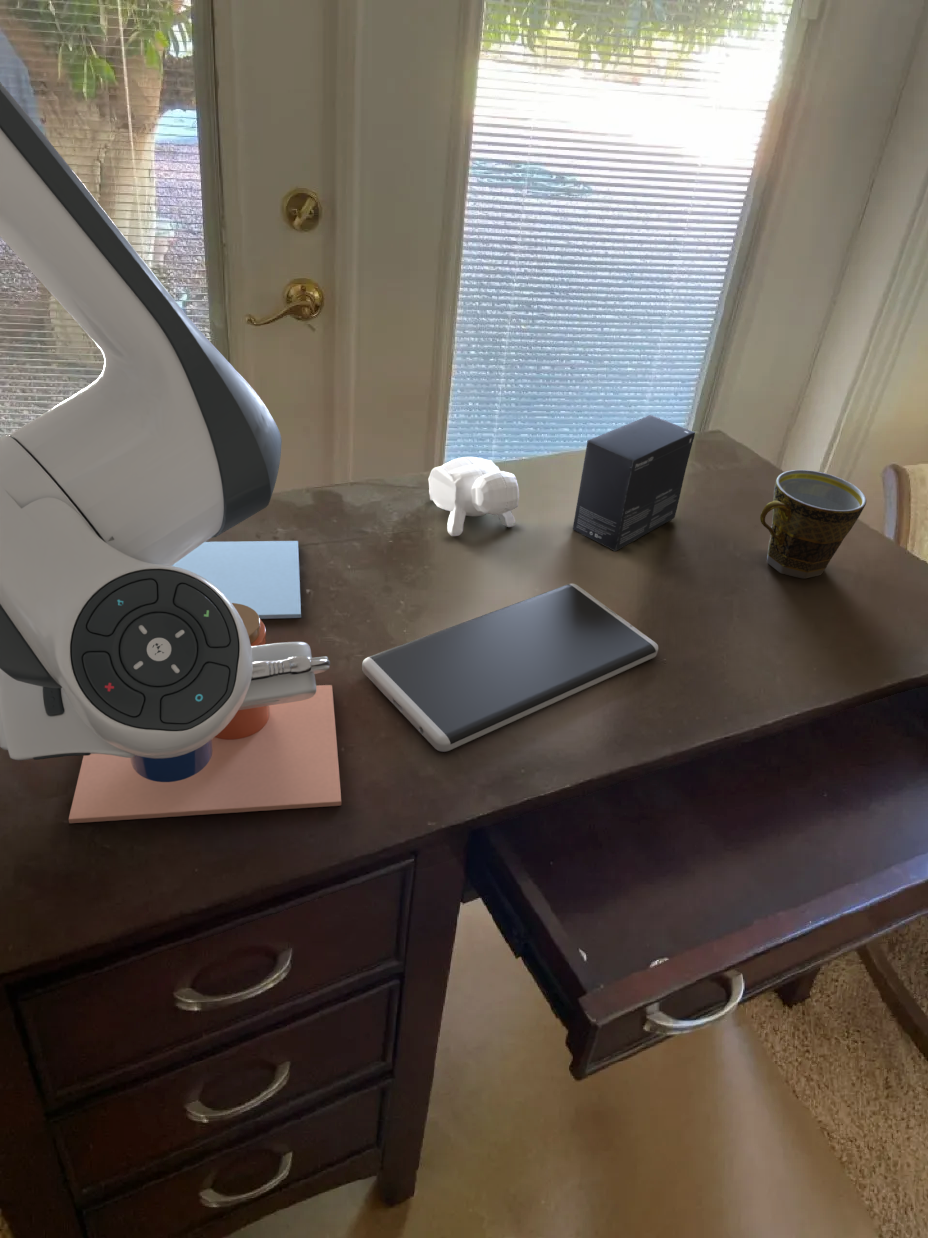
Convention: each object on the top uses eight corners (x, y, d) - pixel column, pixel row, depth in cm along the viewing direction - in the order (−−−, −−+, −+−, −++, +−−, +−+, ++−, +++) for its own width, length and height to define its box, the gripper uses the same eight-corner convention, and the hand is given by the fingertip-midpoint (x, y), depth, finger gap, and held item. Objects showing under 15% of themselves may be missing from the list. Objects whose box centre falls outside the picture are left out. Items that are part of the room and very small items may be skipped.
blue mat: (88, 623, 85) (87, 619, 85) (110, 546, 96) (109, 542, 96) (301, 618, 89) (301, 614, 88) (298, 544, 100) (298, 540, 99)
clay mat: (69, 824, 66) (68, 819, 65) (98, 698, 77) (97, 694, 76) (341, 805, 69) (341, 801, 69) (332, 688, 81) (332, 684, 80)
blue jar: (125, 784, 65) (107, 680, 59) (135, 728, 70) (119, 626, 64) (210, 780, 66) (200, 677, 60) (214, 725, 71) (206, 624, 65)
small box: (631, 498, 116) (651, 412, 109) (675, 519, 113) (698, 431, 106) (569, 529, 108) (586, 438, 101) (614, 552, 105) (635, 460, 98)
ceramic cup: (796, 536, 112) (822, 464, 106) (854, 578, 105) (886, 504, 99) (715, 552, 107) (737, 478, 101) (771, 598, 100) (798, 520, 94)
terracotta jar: (195, 742, 73) (183, 646, 67) (199, 693, 78) (189, 600, 72) (269, 738, 74) (264, 643, 68) (269, 690, 79) (265, 598, 73)
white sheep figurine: (422, 526, 111) (475, 544, 98) (416, 458, 109) (470, 467, 96) (482, 517, 115) (542, 533, 102) (478, 450, 112) (538, 458, 99)
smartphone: (357, 671, 83) (358, 657, 82) (570, 592, 97) (573, 579, 96) (440, 759, 75) (441, 744, 73) (659, 658, 89) (663, 645, 88)
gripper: (327, 610, 56) (298, 640, 69) (-33, 653, 50) (9, 677, 63) (342, 708, 56) (310, 720, 69) (-22, 766, 49) (19, 767, 62)
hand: (164, 700), depth 66 cm, fingers closed on blue jar, 6 cm apart
